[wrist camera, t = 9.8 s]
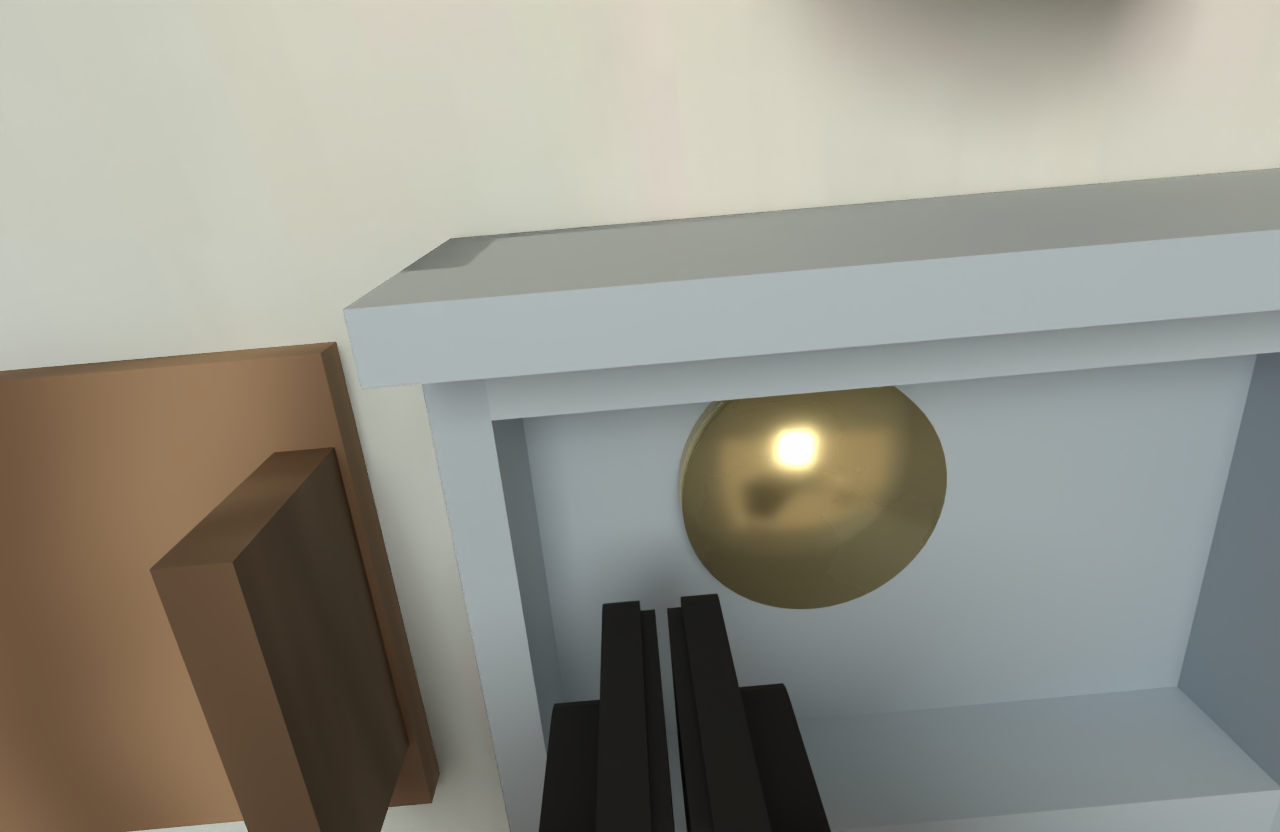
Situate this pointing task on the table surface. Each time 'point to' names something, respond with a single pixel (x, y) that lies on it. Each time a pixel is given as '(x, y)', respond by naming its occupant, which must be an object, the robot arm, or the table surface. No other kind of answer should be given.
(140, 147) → the table surface
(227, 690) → the cover plate
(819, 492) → the brass disc
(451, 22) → the table surface
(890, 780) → the light grey open box
